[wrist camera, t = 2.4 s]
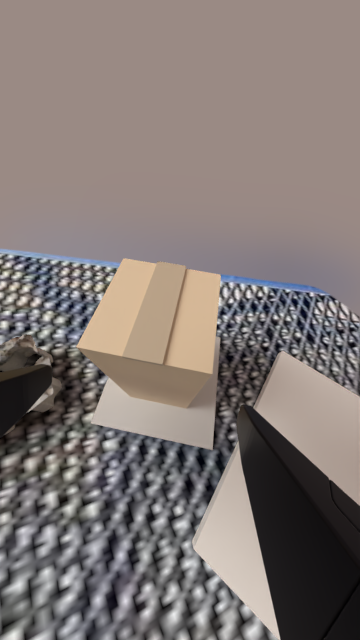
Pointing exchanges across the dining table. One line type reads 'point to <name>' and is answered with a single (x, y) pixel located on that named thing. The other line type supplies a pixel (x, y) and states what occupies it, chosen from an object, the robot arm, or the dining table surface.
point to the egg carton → (16, 357)
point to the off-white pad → (310, 439)
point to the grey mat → (162, 413)
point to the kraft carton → (156, 331)
